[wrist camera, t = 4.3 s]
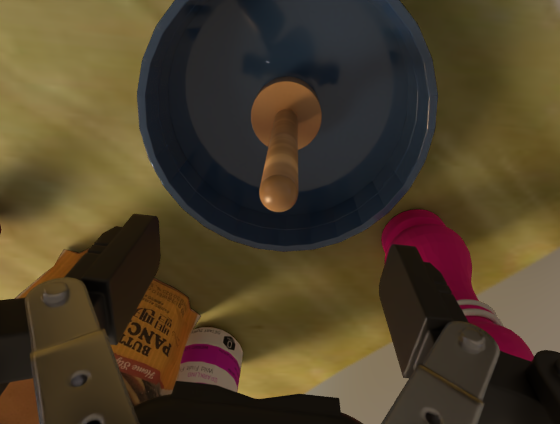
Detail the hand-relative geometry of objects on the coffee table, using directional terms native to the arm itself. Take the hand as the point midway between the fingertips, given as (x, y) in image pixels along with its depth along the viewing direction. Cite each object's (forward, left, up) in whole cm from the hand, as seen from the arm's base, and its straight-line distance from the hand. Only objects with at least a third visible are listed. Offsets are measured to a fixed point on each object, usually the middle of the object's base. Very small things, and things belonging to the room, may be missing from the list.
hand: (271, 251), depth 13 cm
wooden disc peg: (0, 0, -21) cm, 21 cm away
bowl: (0, 0, -22) cm, 22 cm away
